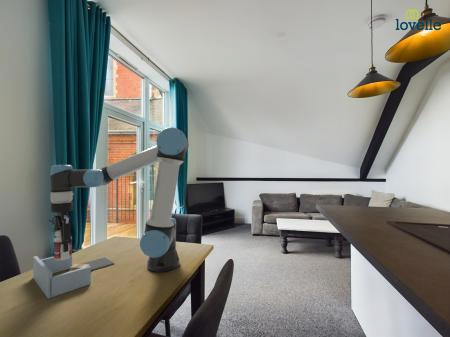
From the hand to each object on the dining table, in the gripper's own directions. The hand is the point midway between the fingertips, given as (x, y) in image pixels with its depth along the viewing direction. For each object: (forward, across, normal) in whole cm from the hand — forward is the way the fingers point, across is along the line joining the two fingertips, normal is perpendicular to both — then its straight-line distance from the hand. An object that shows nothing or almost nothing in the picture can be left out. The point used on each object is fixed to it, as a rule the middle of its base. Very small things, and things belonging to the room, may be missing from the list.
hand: (62, 257), depth 95 cm
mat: (+10, +7, -16) cm, 20 cm away
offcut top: (+8, +1, -6) cm, 10 cm away
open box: (+10, +1, 0) cm, 10 cm away
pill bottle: (+1, 0, 0) cm, 1 cm away
